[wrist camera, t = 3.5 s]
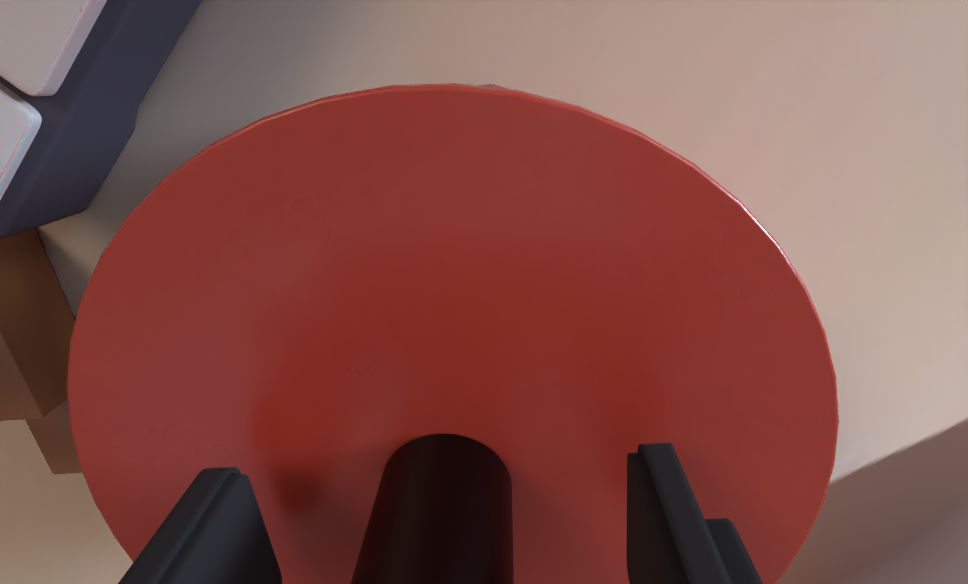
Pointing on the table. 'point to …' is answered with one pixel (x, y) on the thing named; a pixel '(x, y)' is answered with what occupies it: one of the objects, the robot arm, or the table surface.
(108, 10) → the calculator
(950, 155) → the table surface
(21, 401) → the stepped wooden block pair
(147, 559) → the robot arm
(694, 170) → the lid
